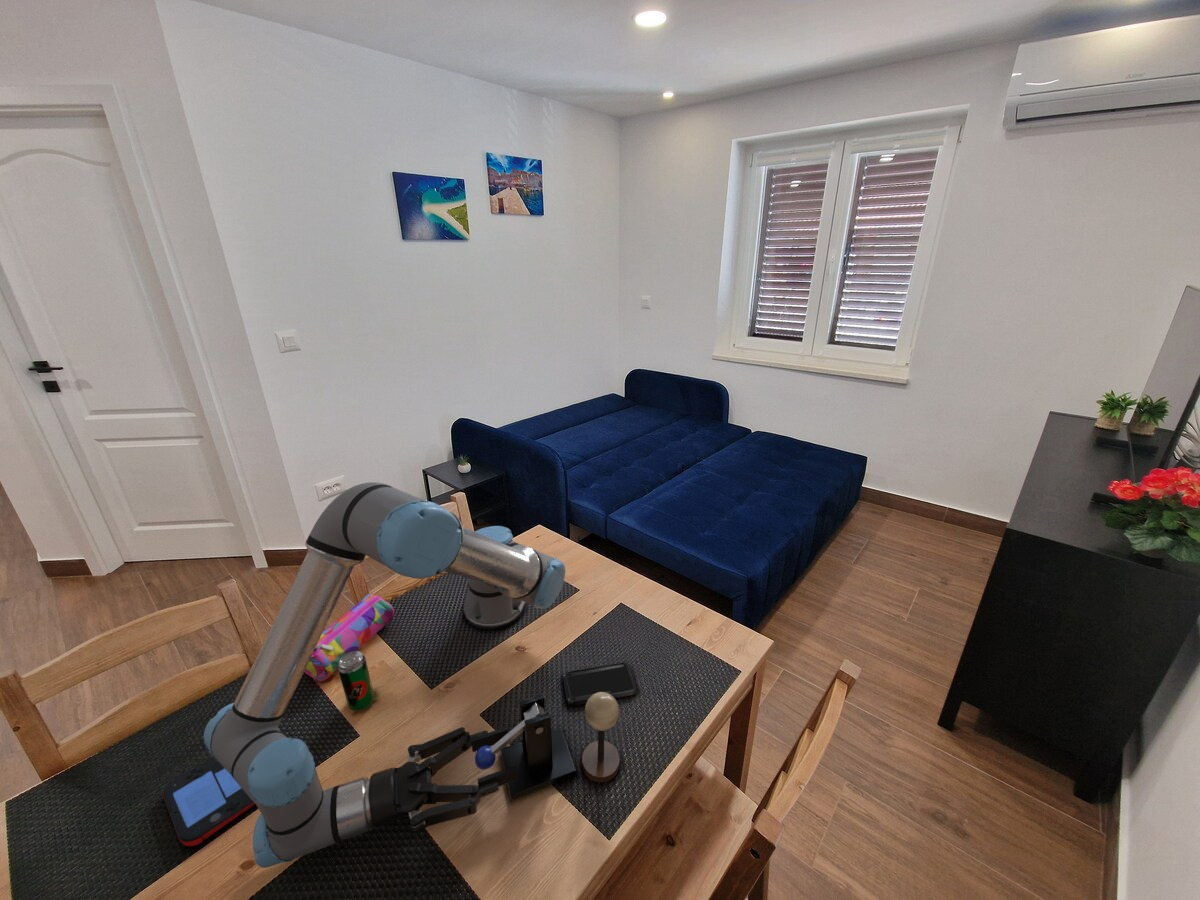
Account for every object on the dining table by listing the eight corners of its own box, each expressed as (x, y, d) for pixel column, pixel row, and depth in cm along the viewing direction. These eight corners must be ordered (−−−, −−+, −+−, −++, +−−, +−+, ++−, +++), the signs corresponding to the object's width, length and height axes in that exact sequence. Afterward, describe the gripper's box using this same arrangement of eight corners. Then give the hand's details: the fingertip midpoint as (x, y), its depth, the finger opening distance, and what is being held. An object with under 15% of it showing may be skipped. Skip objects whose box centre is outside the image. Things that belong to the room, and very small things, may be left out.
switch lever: (485, 777, 83) (471, 770, 82) (481, 758, 86) (468, 751, 85) (550, 723, 84) (538, 715, 82) (544, 706, 87) (532, 698, 85)
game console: (276, 791, 85) (273, 783, 84) (186, 857, 76) (181, 848, 75) (247, 741, 93) (244, 733, 92) (163, 794, 84) (158, 786, 83)
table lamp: (576, 752, 92) (576, 688, 85) (610, 740, 95) (612, 677, 88) (589, 788, 86) (590, 722, 79) (625, 774, 89) (629, 709, 82)
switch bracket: (510, 800, 84) (505, 743, 78) (500, 753, 92) (495, 698, 86) (576, 775, 88) (575, 719, 82) (561, 732, 96) (560, 678, 90)
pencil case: (328, 692, 103) (319, 661, 100) (296, 679, 106) (285, 648, 103) (400, 623, 122) (394, 594, 119) (370, 613, 125) (364, 585, 121)
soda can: (380, 697, 103) (370, 654, 98) (360, 716, 98) (348, 673, 94) (363, 688, 104) (352, 646, 100) (342, 706, 100) (330, 664, 95)
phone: (562, 672, 108) (627, 661, 111) (562, 676, 108) (627, 665, 111) (567, 703, 100) (637, 690, 103) (568, 707, 101) (637, 694, 104)
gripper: (376, 760, 88) (502, 719, 96) (373, 884, 71) (526, 822, 79) (369, 732, 85) (499, 692, 93) (364, 855, 68) (524, 793, 76)
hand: (511, 752), depth 86 cm, fingers open, 7 cm apart
